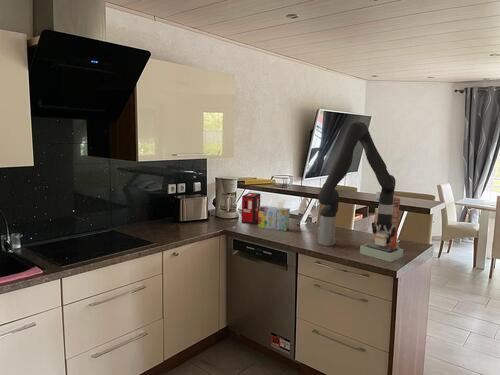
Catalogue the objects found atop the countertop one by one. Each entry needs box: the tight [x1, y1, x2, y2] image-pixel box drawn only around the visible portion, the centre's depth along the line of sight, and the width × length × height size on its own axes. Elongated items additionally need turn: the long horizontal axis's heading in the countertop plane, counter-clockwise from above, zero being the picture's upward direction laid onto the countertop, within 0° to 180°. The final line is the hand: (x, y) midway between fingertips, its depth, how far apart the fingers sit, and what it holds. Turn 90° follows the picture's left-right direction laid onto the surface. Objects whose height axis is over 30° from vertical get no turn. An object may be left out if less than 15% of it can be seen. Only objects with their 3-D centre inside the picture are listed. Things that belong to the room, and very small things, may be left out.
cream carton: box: [374, 231, 391, 246], centre depth 204 cm, size 5×7×6 cm
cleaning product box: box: [241, 192, 261, 225], centre depth 279 cm, size 16×9×20 cm, turn 163°
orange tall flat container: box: [372, 191, 401, 247], centre depth 228 cm, size 23×8×30 cm, turn 174°
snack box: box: [257, 204, 291, 232], centre depth 259 cm, size 21×6×15 cm, turn 63°
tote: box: [359, 241, 404, 263], centre depth 206 cm, size 18×13×5 cm
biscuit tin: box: [368, 243, 398, 253], centre depth 205 cm, size 12×9×5 cm
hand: (382, 243), depth 205 cm, fingers closed on cream carton, 5 cm apart
